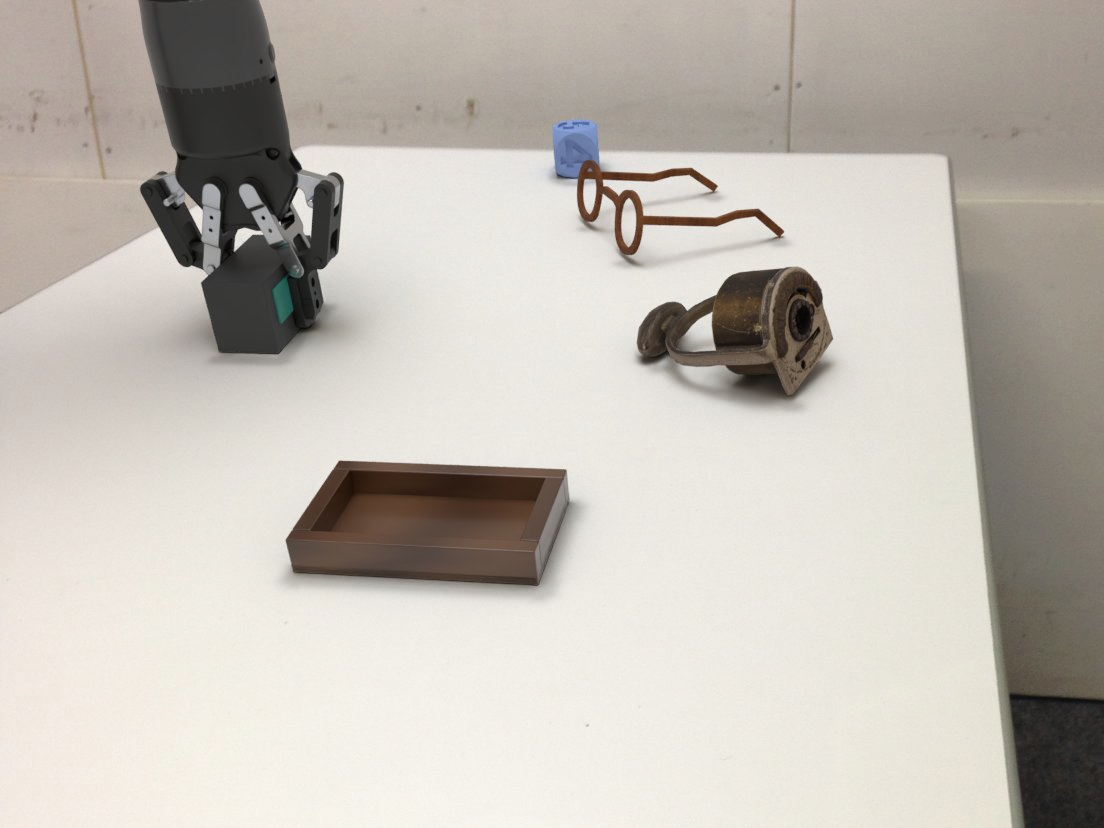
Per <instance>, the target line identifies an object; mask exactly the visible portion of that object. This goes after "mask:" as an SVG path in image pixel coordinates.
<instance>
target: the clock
mask: <svg viewBox="0 0 1104 828" xmlns="http://www.w3.org/2000/svg"><path fill="white" fill-rule="evenodd" d="M305 236H306V238H307V240H308V242H309V244H310V243H311V234H305ZM315 274H316V279H317V284H318V289H319V293H320V298H321V303H322V304H323V303H324V296H323V292H322V291H323V290H322V287H321V282H320V281H321V280H320V277H319V276H320V275H319V272H318V269H316V270H315ZM289 276H290V274H289V273H288V272H287V270H286V268H285V266H284V264H283V262H282V260H281V259H280V257H279V255H278V253H277V251H276V250H275V249H272V248H271V247H270V246H269V244H268V242H267V240H266V239H265V237H264V235H263V234H251V236H250V237H248V238H247V239H246V240H245V241H244V242H243V243H242V244H241V245H240V246H239V247H238V248H237V249H235V250H234V252H233V253H232V254H231V255H230V256H229V257H228V258H227V259H226V260H225V261H224V262H222V263H221V264H220V265H219V266H218V267H217V268H216V269H215V270H214V271H213V272H212V273H211V274H209V275H207V276H206V277H205V278H204V279H203V280H202V281H201V282H200V285H201V288H202V294H203V297H204V301H205V305H206V308H207V313H208V316H209V320H210V324H211V328H212V331H213V335H214V339H215V343H216V347H217V350H218V353H240V354H241V353H244V354H280V353H281V352H282V350H283V349H284V348H285V347H286V346H287V344H289V342H290V341H291V340H292V339H293V338H294V336H295V335H296V334H297V333H298V332H299V331H300V329H301V328H302V327H298V326H297V325H296V321H295V316H294V312H293V310H294V309H293V304H292V300H291V295H290V291H289V286H288V282H287V278H288V277H289Z"/></svg>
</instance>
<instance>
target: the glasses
mask: <svg viewBox="0 0 1104 828" xmlns="http://www.w3.org/2000/svg"><path fill="white" fill-rule="evenodd" d="M589 168H590V169H591V170H592V171H588V169H589ZM682 176H683V177H685V176H690V177H691V178H693V179H694V180H695V181H697V182H698V183H700V184H701V185H703V186H704V187H706V188H707V189H709V190H710V191H711V192H713V193H715V191H716V190H717V188H718V187H719V185H718V184H717V183H715V182H713V181H712V180H711V179H709V178H708V177H706V176H704V174H702V173H700V172H699V171H697V169H694V168H693V167H674V168H673V167H672V168H668V169H664V170H661V171H657V172H651V173H650V172H630V171H629V172H628V171H627V172H626V171H606V170H605V171H603V170H601V167H600V168H599V166H598V164H597V163H596V162H595V161H593V160H586V161H584V162H583V164H582V166H581V168H580V172H579V176H578V178H577V183H576V203H577V209H578V212H579V215H580V217H581V218H582V220H583V221H584V222H586V223H593V222H595V221H596V220H597V219H598V217H599V215H600V211H601V206H602V201H603V196H605V197H606V198H608V199H609V200H610V201H611V202H612V204H613V205H614V207H615V211H614V237H615V238H614V239H615V242H616V245H617V248H618V249H619V251H620V253H622V254H623V255H624V256H633V255H635V254H636V253H637V251H638V250H639V249H640V245H641V243H642V239H643V233H644V226H670V227H671V226H673V227H674V226H675V227H676V226H678V227H712V228H713V227H714V228H717V227H719V226H722V225H725V224H728V223H730V222H732V221H735V220H740V219H741V220H742V219H748V218H756V219H758V221H760V223H762V224H763V225H764V226H766V228H768V229H769V230H770V231H771V232H772V233H773V234H774V235H776V236H777V237H778V238H780V237H781V236H782V235H783V234H785V230H784V229H783V228H782V227H781V226H779V225H778V224H777V222H775V221H774V220H773V219H772V218H770V217H769V216H768V214H766V213H764V211H762V210H761V209H760V208H747V209H736V210H734V211H730V212H727V213H724V214H722V215H718V216H716V217H712V216H711V217H710V216H708V217H707V216H676V215H675V216H672V215H644V209H643V208H644V207H643V204H642V201H641V198H640V195H639V194H638V192H636V191H635V190H633V189H624V190H622V192H620V194H618V193H617V192H616V191H615V190H613V188H611V187H609V186H608V185H604V181H623V182H646V183H647V182H651V183H654V182H657V181H658V182H659V181H663V180H665V179H668V178H669V179H670V178H673V177H674V178H675V177H682ZM585 180H595V196H594V197H595V198H594V203H593V208H592V210H591V212H590V213H589V212H588V210H587V208H586V205H585V200H584V190H585V189H584V188H585V187H584V186H585ZM628 199H629V200H630V201H631V202H632V204H633V207H634V209H635V210H634V211H635V230H634V236H633V239H632V242H631V244H630V245H629V246H628V245H627V244H626V242H625V240H624V237H623V231H622V230H623V229H622V221H623V220H622V218H623V210H624V206H625V204H626V202H627V200H628Z"/></svg>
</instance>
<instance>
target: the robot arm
mask: <svg viewBox="0 0 1104 828" xmlns="http://www.w3.org/2000/svg"><path fill="white" fill-rule="evenodd" d="M137 3H138V7H139V14H140V22H141V30H142V36H143V41H144V45H145V48H146V52H147V57H148V60H149V64H150V68H151V72H152V75H153V79H154V84H155V87H156V90H157V91H156V92H157V95H158V99H159V103H160V105H161V111H162V114H163V118H164V121H165V125H166V129H167V133H168V137H169V141H170V145H171V146H172V148H173V150H174V151H175V154H176V165H175V167H174V168H175V169H174V171H171V172H167V171H164V170H161V171H158V172H157V173H155V174H154V175H152V176H151V177H150V178H149V179H147V180H146V181H144V182H143V183H142V184H141V185H140V188H139V192H140V194H141V196H142V198H143V200H144V202H145V204H146V205H147V207H148V209H149V211H150V213H151V215H152V216H153V218H154V221H155V222H156V224H157V226H158V227H159V230H160V232H161V233H162V235H163V237H164V239H165V241H166V243H167V245H168V246H169V248H170V250H171V252H172V254H173V256H174V258H175V260H176V261H177V263H178V264H179V265H180V266H181V267H183V268H190V267H194V268H196V269H200V270H202V271H203V272H204V273H205V274H206V275H207V276H208V275H209V274H211V273H212V272H213V271H214V270H215V269H216V268H217V267H218V266H219V265H220V264H221V263H222V262H224V261H225V260H226V259H227V258H228V257H229V256H230V255H231V254H232V253H233V252H234V251H235V247H236V246H235V245H236V244H235V242H236V236H237V233H238V231H239V230H242V229H248V230H251V231H256V232H261V233H262V235H264V237H265V239H266V240H267V242H268V244H269V246H270V247H271V248H272V249H275V250H276V251H277V253H278V255H279V257H280V259H281V260H282V262H283V264H284V266H285V268H286V270H287V272H288V273H289V274H290V276H289V277H288V278H287V282H288V286H289V291H290V295H291V300H292V304H293V309H294V310H293V312H294V316H295V321H296V325H297V326H298V327H301V328H309V327H311V325H312V324H313V323H314V322H315V321H316V320H317V317H318V315H319V314H320V313H321V311H322V306H323V303H321V298H320V293H319V289H318V284H317V279H316V274H315V270H316V269H317V270H319V271H320V270H324V269H325V268H326V267H327V266H328V265H329V263H330V262H331V261H332V260H333V259H334V258H335V257H336V256H337V255H338V253H339V251H340V237H341V224H342V212H343V200H344V199H343V198H344V188H345V187H344V186H345V181H344V178H343V176H342V175H341V174H340V173H338V172H336V171H331V172H329V173H328V174H327V175H323V174H320V173H316V172H314V171H310V170H307V169H303V166H302V164H301V163H300V161H299V160H298V158H297V157H296V155H295V153H294V151H293V149H292V146H291V139H290V138H291V137H290V130H289V129H290V128H289V124H288V119H287V114H286V110H285V105H284V100H283V95H282V91H281V85H280V80H279V76H278V75H279V74H278V71H277V66H276V53H275V48H274V45H273V43H272V42H271V37H270V33H269V32H270V31H269V28H268V22H267V19H266V16H265V12H264V10H263V7H262V4H261V1H260V0H137ZM299 189H300V191H302V192H303V194H304V198H305V199H304V200H305V203H306V206H307V207H308V208H310V209H312V214H311V228H310V229H311V230H310V236H311V243H310V244H309V242H308V240H307V238H306V236H305V235H306V234H305V233H304V224H303V221H302V218H301V217H300V215H299V213H298V211H297V209H296V207H295V205H294V203H293V200H294V198H295V197H296V194H297V193H298V190H299ZM186 194H187V195H188V196H189V197H190V199H192V201H193V203H195V204H196V205H197V206H198V207H199V208H200V209H201V211H202V219H201V221H202V222H201V231H200V229H199V227H198V225H197V223H196V221H195V219H194V217H193V215H192V213H191V212H190V209H189V208H188V206H187V204H186V202H185V201H186V197H187V196H186Z"/></svg>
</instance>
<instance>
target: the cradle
mask: <svg viewBox="0 0 1104 828" xmlns="http://www.w3.org/2000/svg"><path fill="white" fill-rule="evenodd" d="M569 503H570V488H569V478H568V470H567V469H566V468H543V467H519V466H518V467H517V466H493V465H470V464H469V465H467V464H445V463H443V464H440V463H418V462H417V463H416V462H414V463H413V462H393V461H392V462H388V461H368V460H367V461H364V460H338V461H337V463H336V464H335V466H334V467H333V469H332V470H331V471H330V473H329V474H328V476H327V477H326V479H325V480H324V481H323V483H322V484H321V486H320V488H319V489H318V491H317V492H316V493H315V495H314V496H313V498H312V499H311V501H310V502H309V504H307V507H306V508H305V510H304V511H303V512H302V513H301V515H300V517H299V518H298V520H297V521H296V523H295V525H294V526H293V527H292V530H291V531H290V532H289V533H288V535H287V536H286V538H285V544H286V548H287V553H288V556H289V561H290V564H291V565H290V566H291V570H292V572H293V573H308V574H328V575H345V576H364V577H365V576H366V577H382V578H400V579H401V578H403V579H420V580H421V579H422V580H438V581H439V580H441V581H458V582H459V581H460V582H475V583H476V582H477V583H478V582H479V583H494V584H495V583H497V584H518V585H536V586H538V585H539V584H540V581H541V577H542V575H543V573H544V570H545V567H546V566H547V565H546V564H547V562H548V559H549V556H550V554H551V551H552V548H553V546H554V543H555V540H556V537H557V535H558V532H559V530H560V527H561V525H562V522H563V519H564V516H565V514H566V511H567V509H568V506H569Z"/></svg>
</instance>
